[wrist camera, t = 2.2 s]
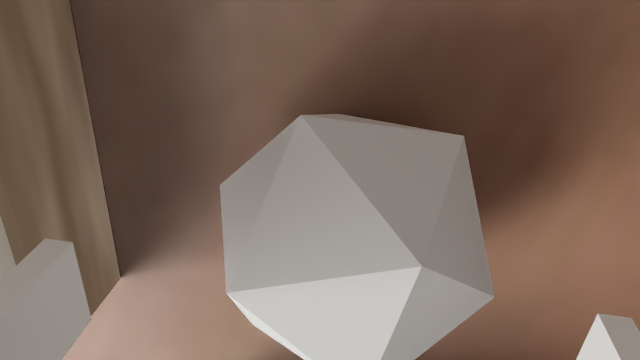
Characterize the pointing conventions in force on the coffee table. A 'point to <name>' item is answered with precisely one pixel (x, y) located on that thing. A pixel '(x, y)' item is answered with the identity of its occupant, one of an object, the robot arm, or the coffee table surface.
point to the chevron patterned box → (50, 146)
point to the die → (355, 238)
